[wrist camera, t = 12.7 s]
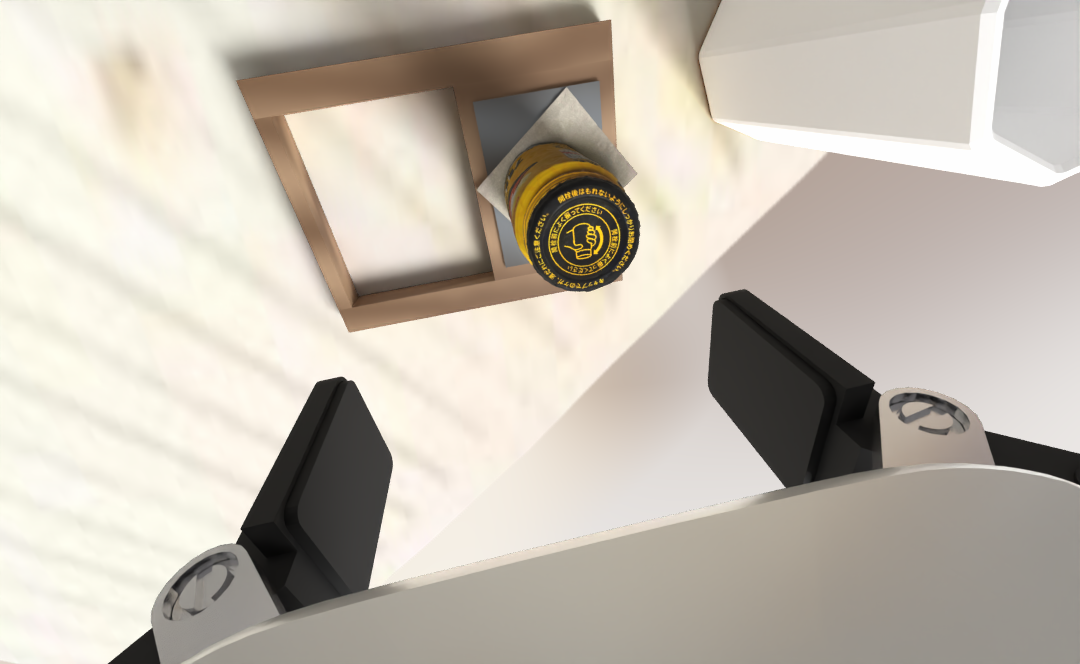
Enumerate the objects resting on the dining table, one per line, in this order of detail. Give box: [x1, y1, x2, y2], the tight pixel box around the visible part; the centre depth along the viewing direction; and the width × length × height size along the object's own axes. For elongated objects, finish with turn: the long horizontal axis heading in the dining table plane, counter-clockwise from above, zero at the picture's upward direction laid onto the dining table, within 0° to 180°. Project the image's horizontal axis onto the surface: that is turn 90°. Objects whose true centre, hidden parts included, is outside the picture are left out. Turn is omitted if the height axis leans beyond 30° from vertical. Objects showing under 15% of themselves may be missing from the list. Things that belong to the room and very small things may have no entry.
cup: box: [699, 0, 1080, 186], centre depth 20 cm, size 11×11×18 cm
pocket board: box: [236, 20, 622, 332], centre depth 29 cm, size 17×22×2 cm
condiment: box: [477, 87, 640, 292], centre depth 23 cm, size 7×8×12 cm
